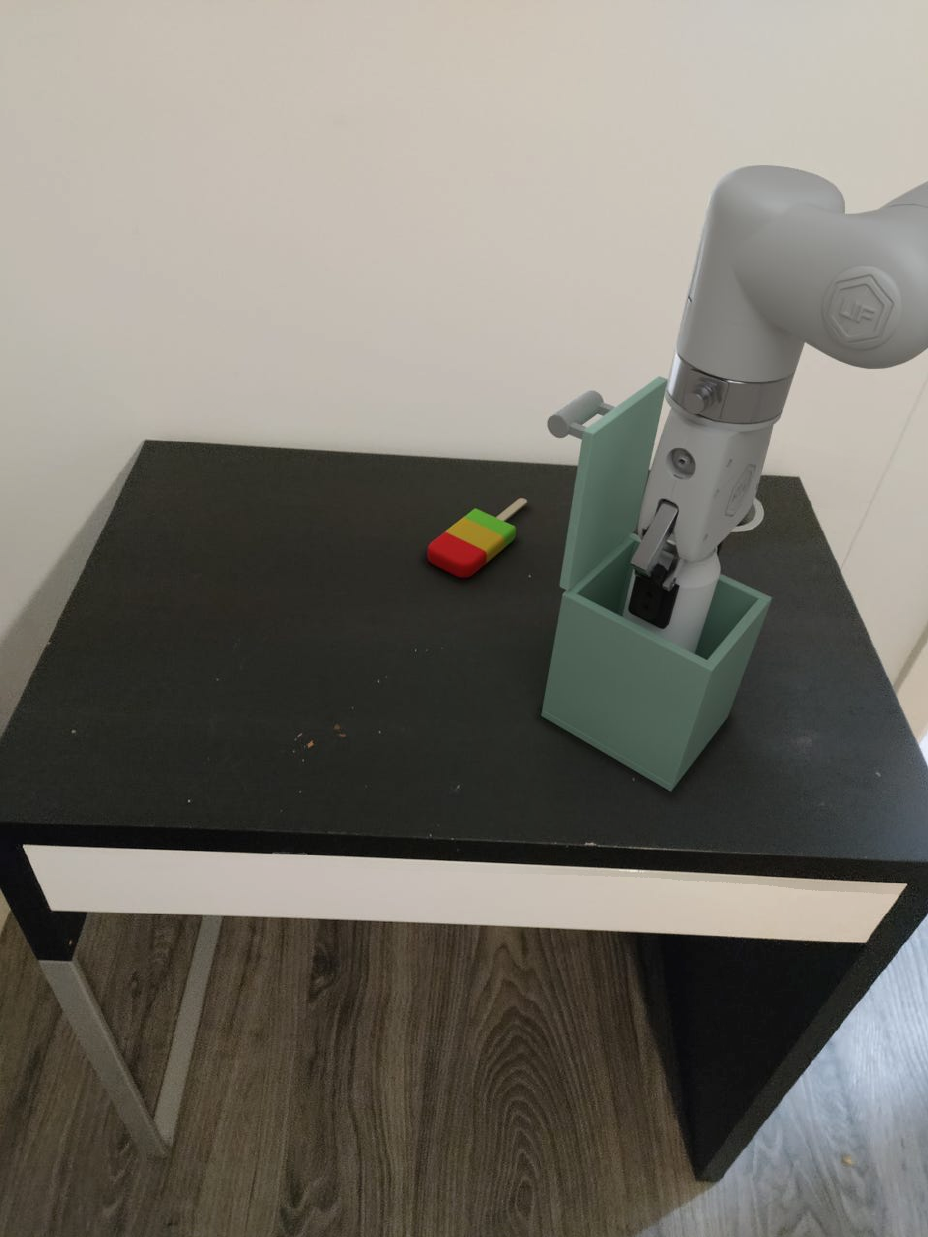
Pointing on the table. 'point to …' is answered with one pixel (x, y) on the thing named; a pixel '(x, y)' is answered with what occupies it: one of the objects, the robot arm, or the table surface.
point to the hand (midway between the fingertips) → (670, 594)
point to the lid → (607, 472)
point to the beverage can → (685, 600)
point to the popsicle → (473, 541)
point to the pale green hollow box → (646, 671)
